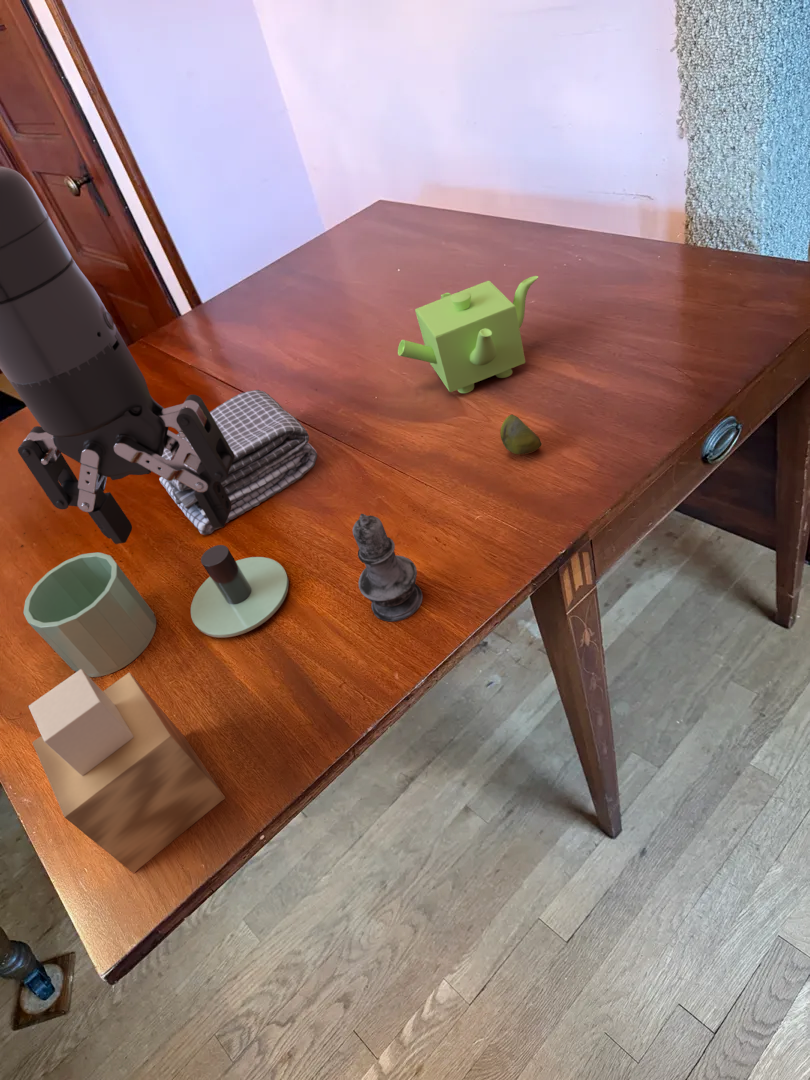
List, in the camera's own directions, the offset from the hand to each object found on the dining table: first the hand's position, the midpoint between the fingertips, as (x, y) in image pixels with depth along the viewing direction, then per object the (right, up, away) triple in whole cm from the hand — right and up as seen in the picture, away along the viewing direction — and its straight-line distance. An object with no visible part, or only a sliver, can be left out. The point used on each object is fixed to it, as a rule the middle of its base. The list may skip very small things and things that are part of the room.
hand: (173, 528), depth 59 cm
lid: (+1, -7, +21) cm, 23 cm away
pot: (-14, -12, +23) cm, 29 cm away
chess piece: (+18, -7, +16) cm, 25 cm away
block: (-6, -16, 0) cm, 17 cm away
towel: (-3, +7, +39) cm, 40 cm away
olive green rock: (+32, +9, +27) cm, 43 cm away
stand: (-3, -23, +6) cm, 24 cm away
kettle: (+29, +21, +42) cm, 55 cm away
